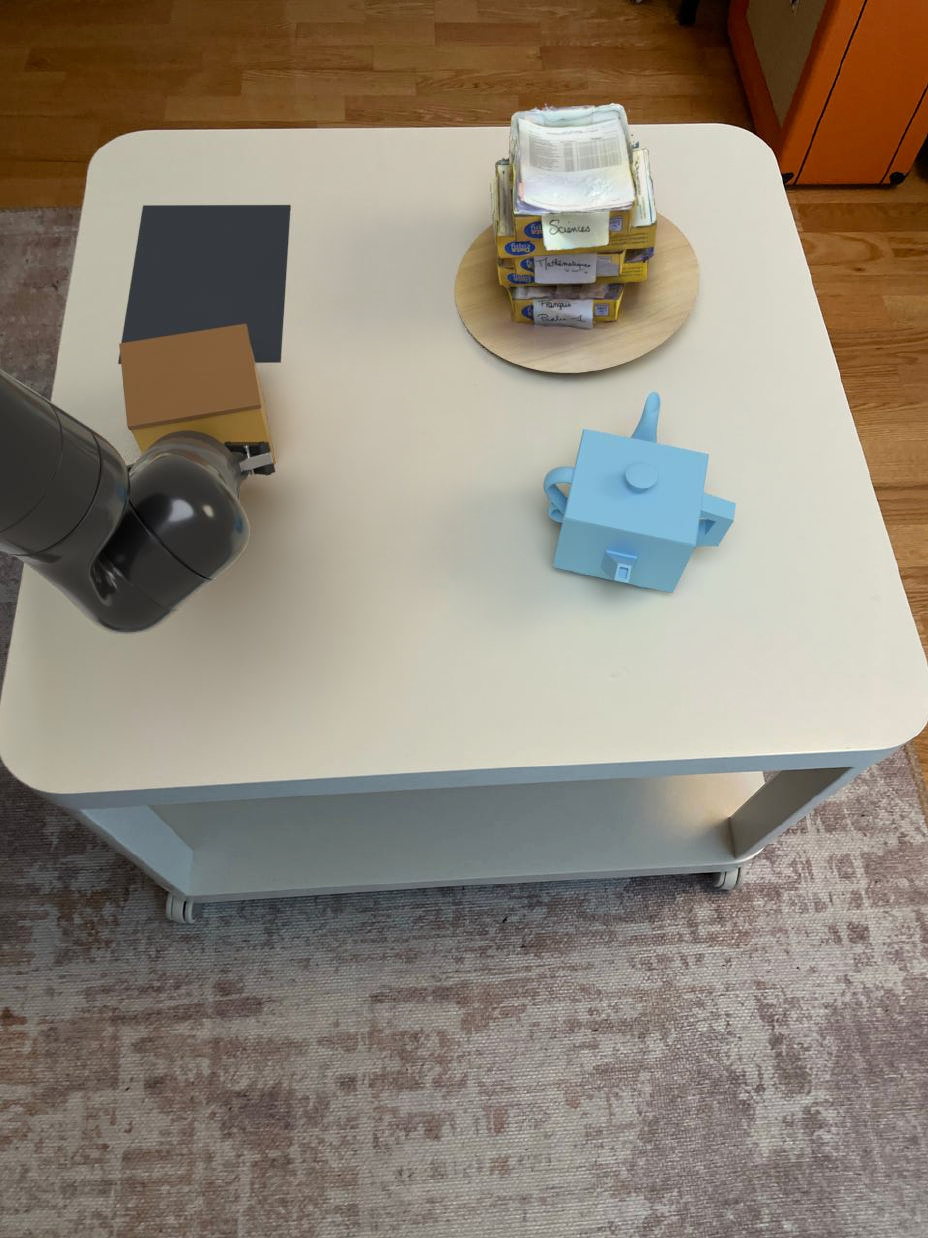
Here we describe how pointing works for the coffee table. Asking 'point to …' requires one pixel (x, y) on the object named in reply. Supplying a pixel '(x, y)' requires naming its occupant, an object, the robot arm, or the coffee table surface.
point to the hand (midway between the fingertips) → (204, 454)
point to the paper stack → (575, 248)
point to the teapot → (634, 507)
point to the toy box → (194, 387)
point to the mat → (210, 273)
